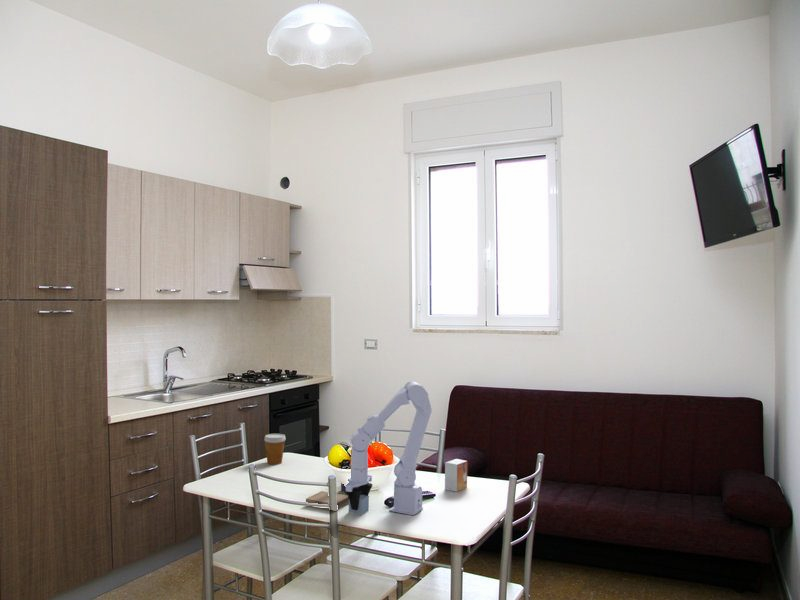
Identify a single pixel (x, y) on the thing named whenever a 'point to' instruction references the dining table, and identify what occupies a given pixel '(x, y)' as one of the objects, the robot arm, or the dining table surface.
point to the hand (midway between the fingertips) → (358, 507)
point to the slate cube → (361, 505)
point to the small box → (456, 475)
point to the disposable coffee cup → (274, 448)
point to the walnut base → (324, 499)
